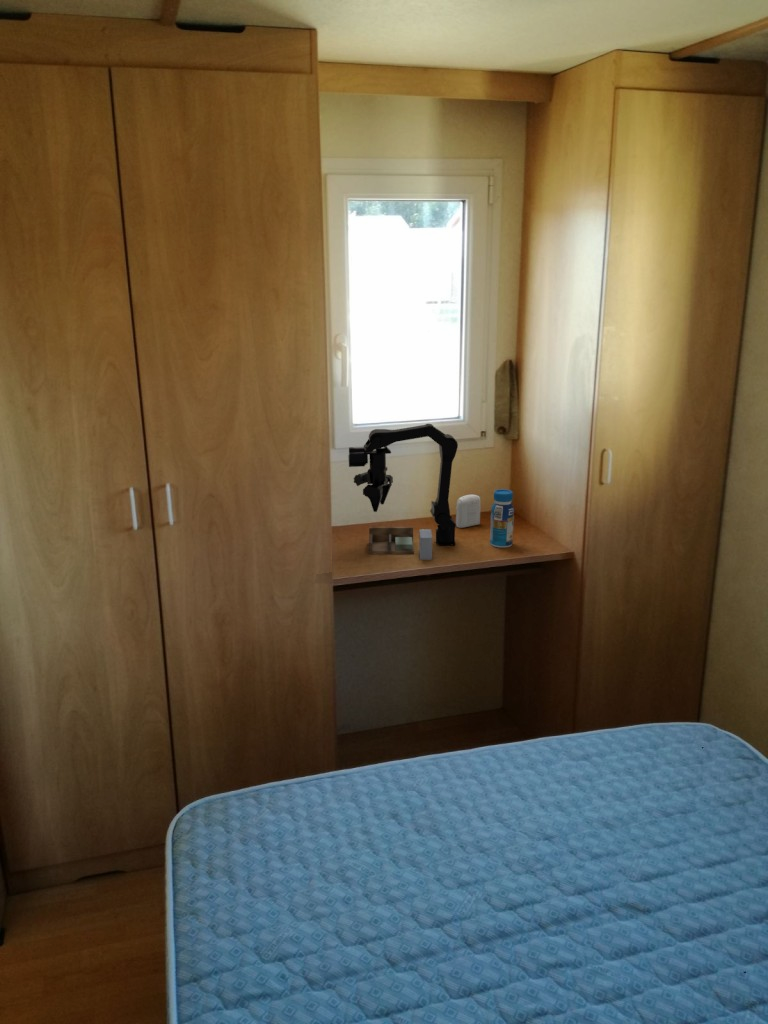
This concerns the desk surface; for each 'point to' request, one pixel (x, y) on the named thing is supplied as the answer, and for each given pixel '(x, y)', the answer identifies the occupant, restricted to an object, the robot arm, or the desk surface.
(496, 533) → the beverage bottle
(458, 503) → the photo printer
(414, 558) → the desk surface
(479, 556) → the desk surface
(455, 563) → the desk surface
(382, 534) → the book rack
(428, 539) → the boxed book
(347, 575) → the desk surface
